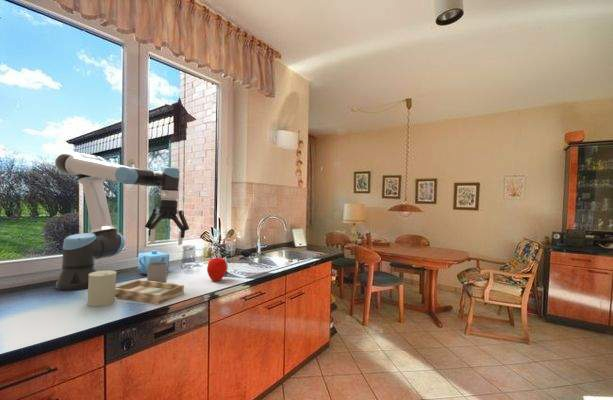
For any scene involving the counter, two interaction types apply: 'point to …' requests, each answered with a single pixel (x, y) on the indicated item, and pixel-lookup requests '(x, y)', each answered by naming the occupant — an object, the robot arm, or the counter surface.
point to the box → (148, 291)
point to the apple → (216, 268)
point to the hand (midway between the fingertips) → (166, 243)
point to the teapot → (151, 260)
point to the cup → (157, 272)
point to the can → (101, 288)
